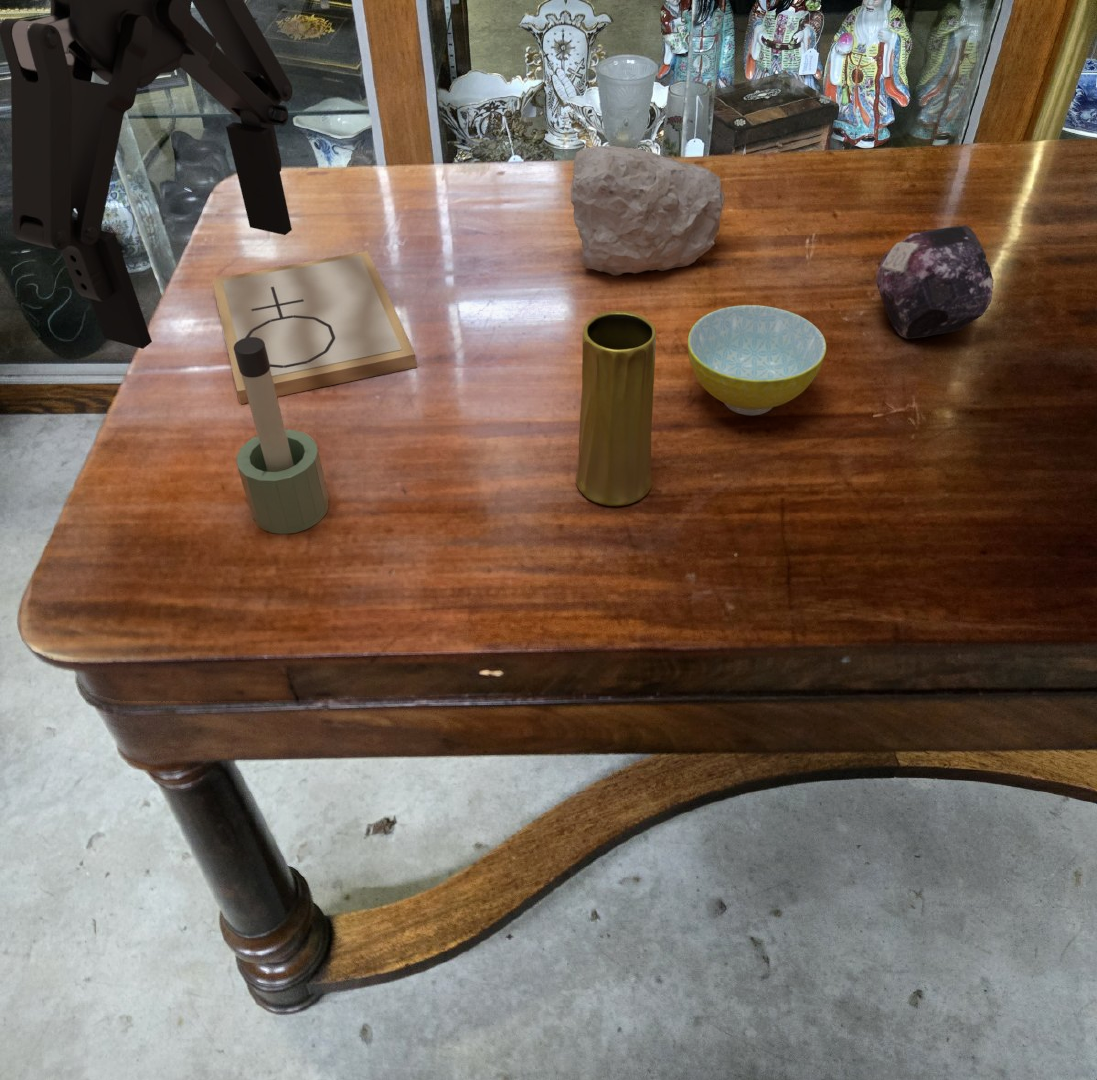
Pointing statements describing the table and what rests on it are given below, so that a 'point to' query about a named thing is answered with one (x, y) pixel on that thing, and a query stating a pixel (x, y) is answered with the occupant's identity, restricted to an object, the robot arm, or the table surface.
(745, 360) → the bowl
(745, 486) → the table surface
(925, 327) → the mineral specimen
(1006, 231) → the table surface
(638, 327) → the vase
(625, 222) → the rough grey rock
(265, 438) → the pen
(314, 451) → the pencil pot
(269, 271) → the sketch board
